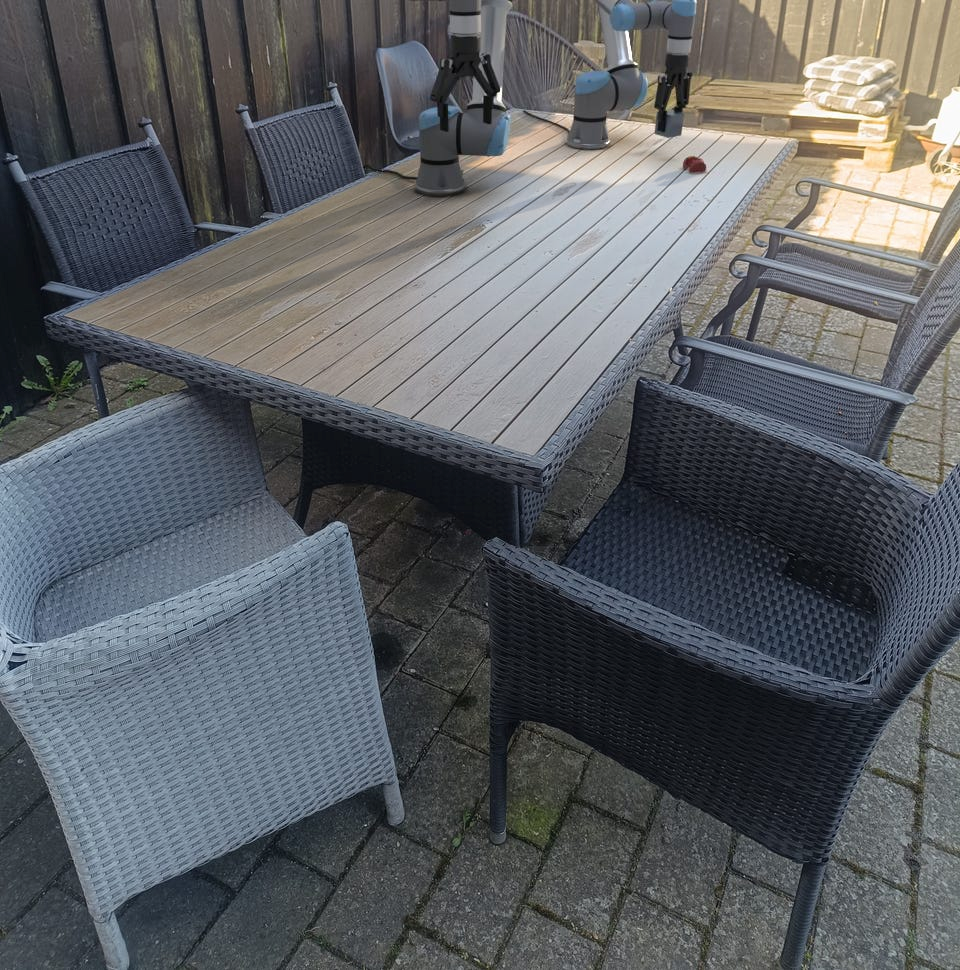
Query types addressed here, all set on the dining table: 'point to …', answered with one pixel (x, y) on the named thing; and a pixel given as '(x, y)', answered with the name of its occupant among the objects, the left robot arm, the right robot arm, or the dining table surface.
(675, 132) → the cube
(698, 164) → the dark red rounded lump
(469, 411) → the dining table surface
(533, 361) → the dining table surface
